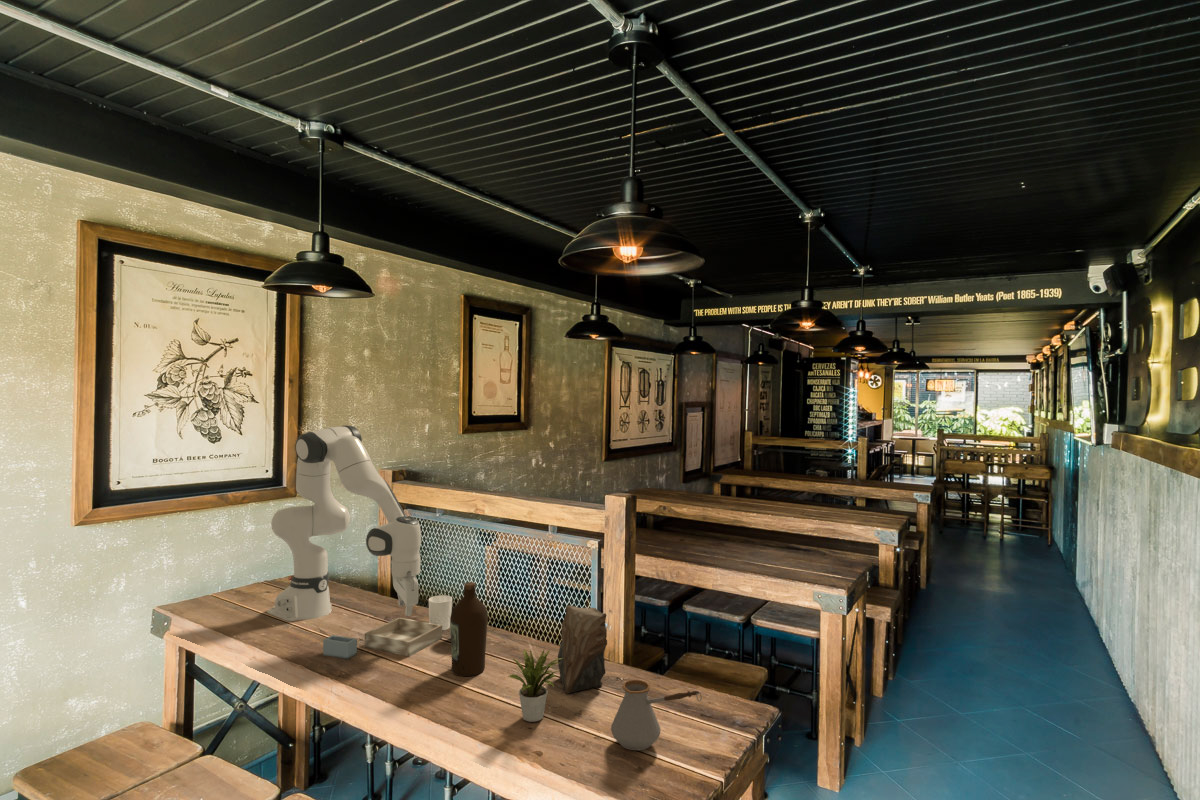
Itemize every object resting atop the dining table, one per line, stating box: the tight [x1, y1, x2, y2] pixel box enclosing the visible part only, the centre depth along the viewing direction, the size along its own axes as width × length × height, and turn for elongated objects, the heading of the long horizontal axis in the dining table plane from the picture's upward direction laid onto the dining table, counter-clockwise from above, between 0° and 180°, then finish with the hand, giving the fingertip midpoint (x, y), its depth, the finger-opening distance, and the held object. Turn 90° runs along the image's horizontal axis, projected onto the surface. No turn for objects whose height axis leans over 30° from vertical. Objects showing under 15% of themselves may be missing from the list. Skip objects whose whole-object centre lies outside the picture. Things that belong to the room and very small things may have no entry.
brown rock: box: [557, 604, 608, 695], centre depth 174 cm, size 13×13×20 cm
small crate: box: [322, 634, 358, 660], centre depth 189 cm, size 9×4×5 cm, turn 73°
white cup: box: [428, 594, 453, 631], centre depth 214 cm, size 8×8×10 cm
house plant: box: [508, 648, 563, 723], centre depth 153 cm, size 14×14×16 cm
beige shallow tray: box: [363, 617, 443, 658], centre depth 199 cm, size 18×16×4 cm
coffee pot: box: [610, 679, 702, 751], centre depth 141 cm, size 21×12×15 cm, turn 62°
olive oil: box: [450, 581, 489, 677], centre depth 181 cm, size 11×11×25 cm
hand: (405, 610), depth 200 cm, fingers open, 8 cm apart
